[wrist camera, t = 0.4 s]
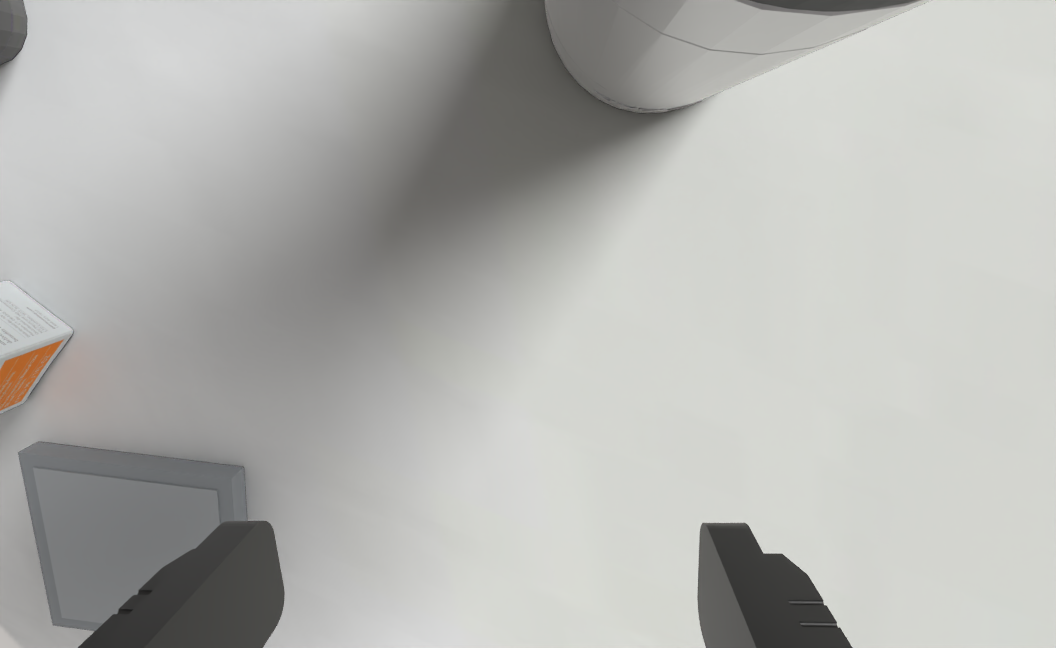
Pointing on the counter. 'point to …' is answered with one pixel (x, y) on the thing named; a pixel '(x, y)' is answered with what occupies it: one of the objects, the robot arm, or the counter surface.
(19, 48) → the beverage cup
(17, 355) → the skincare box
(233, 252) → the counter surface
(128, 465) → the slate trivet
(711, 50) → the robot arm
